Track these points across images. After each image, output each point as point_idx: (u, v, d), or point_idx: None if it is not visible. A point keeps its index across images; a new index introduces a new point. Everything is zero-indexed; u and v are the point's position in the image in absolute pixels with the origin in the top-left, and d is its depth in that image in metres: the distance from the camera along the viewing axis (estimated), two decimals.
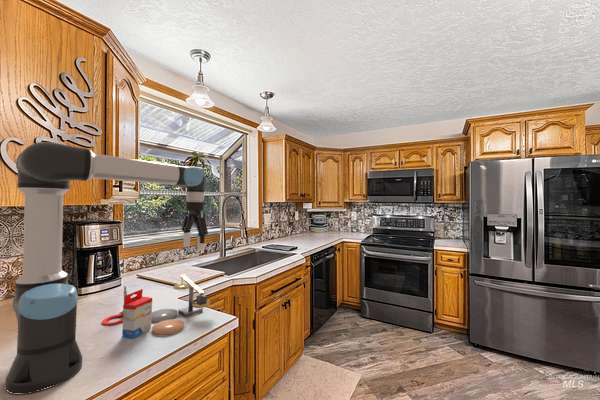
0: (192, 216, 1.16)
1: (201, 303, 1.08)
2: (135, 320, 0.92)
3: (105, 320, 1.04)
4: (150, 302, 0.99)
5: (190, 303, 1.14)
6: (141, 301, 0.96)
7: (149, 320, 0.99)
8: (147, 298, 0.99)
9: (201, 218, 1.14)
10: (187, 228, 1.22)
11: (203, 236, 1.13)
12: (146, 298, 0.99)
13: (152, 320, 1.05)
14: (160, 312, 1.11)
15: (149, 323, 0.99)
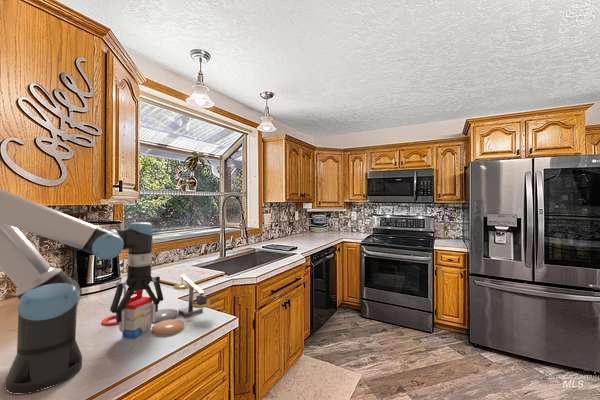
0: None
1: (201, 303, 1.08)
2: (135, 319, 0.92)
3: (105, 320, 1.04)
4: (150, 302, 0.99)
5: (190, 303, 1.14)
6: (141, 301, 0.96)
7: (149, 320, 0.99)
8: (147, 298, 0.99)
9: (118, 289, 0.92)
10: None
11: (116, 313, 0.91)
12: (146, 298, 0.99)
13: None
14: (160, 312, 1.11)
15: (149, 323, 0.99)
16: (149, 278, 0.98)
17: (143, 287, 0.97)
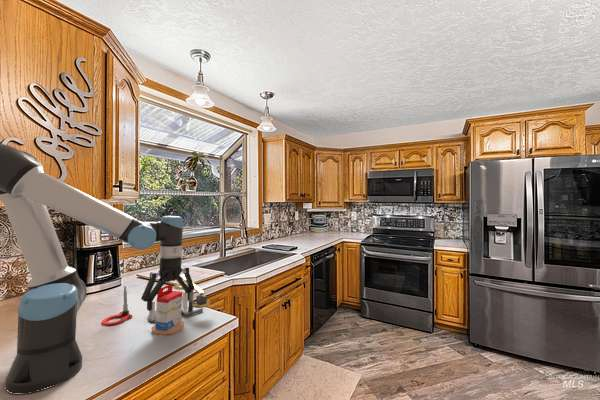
0: None
1: (201, 303, 1.08)
2: (168, 312, 0.96)
3: (105, 320, 1.04)
4: (181, 296, 1.03)
5: (190, 303, 1.14)
6: (173, 294, 1.00)
7: (179, 313, 1.03)
8: (177, 292, 1.03)
9: (151, 279, 0.95)
10: (182, 287, 1.05)
11: (147, 302, 0.94)
12: (177, 292, 1.03)
13: (152, 320, 1.05)
14: None
15: (179, 316, 1.02)
16: (179, 270, 1.02)
17: (174, 278, 1.01)
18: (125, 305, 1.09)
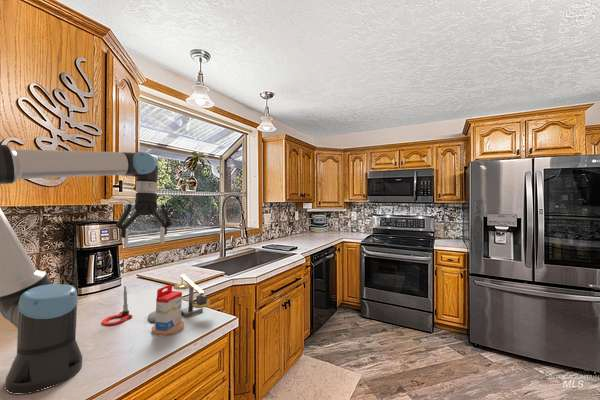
0: None
1: (201, 303, 1.08)
2: (167, 312, 0.96)
3: (105, 320, 1.04)
4: (180, 296, 1.03)
5: (190, 303, 1.14)
6: (173, 294, 1.00)
7: (179, 313, 1.03)
8: (177, 292, 1.03)
9: (126, 209, 1.02)
10: (159, 222, 1.12)
11: (121, 230, 1.01)
12: (176, 292, 1.03)
13: (152, 320, 1.05)
14: None
15: (179, 316, 1.02)
16: (155, 206, 1.09)
17: (149, 213, 1.07)
18: (125, 305, 1.09)
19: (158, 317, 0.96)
